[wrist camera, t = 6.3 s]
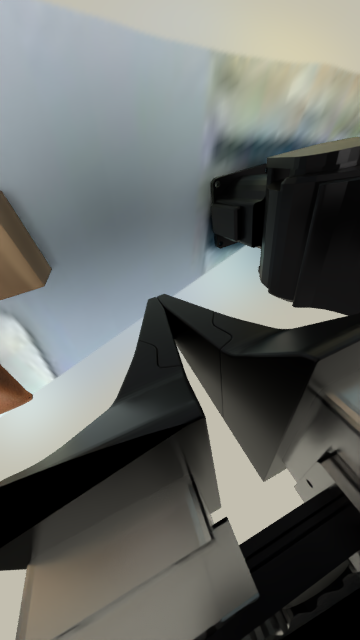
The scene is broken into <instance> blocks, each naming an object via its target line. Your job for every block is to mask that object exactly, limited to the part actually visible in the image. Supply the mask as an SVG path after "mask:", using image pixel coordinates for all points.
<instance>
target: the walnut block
mask: <svg viewBox="0 0 360 640" xmlns="http://www.w3.org/2000/svg"><path fill="white" fill-rule="evenodd" d="M51 270H52V269H51V267H50V266H49V264H48V263H47V261H46V260H45V258H44V256H43V255H42V253H41V252H40V250H39V249H38V247H37V246H36V244H35V242H34V241H33V239H32V238H31V236H30V235H29V233H28V231H27V230H26V228H25V227H24V225H23V224H22V222H21V221H20V219H19V217H18V216H17V214H16V213H15V211H14V210H13V208H12V206H11V205H10V203H9V202H8V200H7V199H6V197H5V196H4V194H3V192H2V191H0V300H3V299H6V298H9V297H12V296H15V295H19V294H22V293H25V292H28V291H31V290H34V289H38V288H41V287H44V286H45V284H46V282H47V279H48V277H49V275H50V272H51Z"/></svg>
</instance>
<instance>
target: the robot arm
mask: <svg viewBox="0 0 360 640" xmlns="http://www.w3.org/2000/svg"><path fill="white" fill-rule="evenodd" d="M265 169H267V170H266V172H265ZM216 182H218V186H217V187H216V186H215V183H216ZM211 194H212V206H211V212H212V224H213V232H214V233H215V244H216V247H218V248H223V247H226V246H229V245H232V244H235V243H237V242H240V243H242V244H245V245H247V246H250V247H253V248H254V247H258V248H260V249H261V258H260V266H259V270H258V272H259V274H260V280H261V282H262V283H263V284H264V285H265V286H266V287H267V288H268V292H269V293H270V294H272V295H274V296H276V297H278V298H281V299H283V300H286V301H289V302H293V305H292V306H293V307H298V308H299V307H300V308H302V307H303V308H305V307H306V308H307V307H310V308H318V309H326V310H329V311H334V312H337V313H341V314H344V315H348V316H346V317H342V318H337V319H333V320H328V321H324V322H320V323H316V324H312V325H307V326H303V327H298V328H294V329H276V328H271V327H267V326H263V325H260V324H255V323H251V322H247V321H243V320H240V319H236V318H233V317H229V316H226V315H223V314H220V313H217V312H214V311H211V310H209V309H206V308H203V307H200V306H197V305H194V304H192V303H189V302H186V301H183V300H180V299H178V298H175V297H172V296H169V295H166V294H163V295H160V296H157V298H156V297H154V298H151V299H148V302H147V306H146V310H145V314H144V318H143V322H142V326H141V330H140V335H139V339H138V343H137V347H136V350H135V354H134V357H133V360H132V362H131V365H130V367H129V370H128V372H127V375H126V377H125V379H124V382H123V384H122V386H121V389H120V391H119V393H118V396H117V398H116V399H115V401H114V403H113V404H112V406H111V407H110V408H109V409H108V410H107V411H106V412H104V413H103V414H102V415H101V416H99V417H98V418H97V419H96V420H94V421H93V422H92V423H91V424H89V425H88V426H87V427H86V428H85V429H83V430H82V431H81V432H80V433H78V434H77V435H76V436H75V437H73V438H72V439H71V440H70V441H68V442H67V443H66V444H65V445H63V446H62V447H61V448H59V449H58V450H57V451H56V452H54V453H52V454H51V455H49V456H48V457H46V458H45V459H44V460H42V461H40V462H39V463H37V464H35V465H33V466H31V467H29V468H27V469H25V470H23V471H21V472H19V473H17V474H15V475H12V476H10V477H8V478H6V479H4V480H2V481H1V482H0V571H3V570H19V569H27V571H26V578H25V584H24V590H23V596H22V602H21V609H20V615H19V621H18V627H17V633H16V640H360V137H353V138H347V139H342V140H337V141H331V142H326V143H321V144H317V145H313V146H309V147H306V148H302V149H298V150H294V151H290V152H287V153H283V154H279V155H275V156H272V157H268V158H267V164H262V165H259V166H255V167H252V168H248V169H245V170H241V171H238V172H234V173H231V174H227V175H224V176H220V177H217V178H214V179H213V180H212V182H211ZM220 242H221V245H219V243H220ZM176 345H177V346H178V348H179V350H180V351H181V353H182V354H183V356H184V357H185V359H186V361H187V362H188V364H189V365H190V367H191V369H192V370H193V372H194V373H195V375H196V376H197V378H198V379H199V381H200V383H201V384H202V386H203V387H204V389H205V390H206V392H207V394H208V395H209V397H210V398H211V400H212V402H213V403H214V405H215V406H216V408H217V409H218V411H219V413H220V414H221V416H222V417H223V418H224V420H225V422H226V424H227V425H228V427H229V428H230V430H231V431H232V433H233V435H234V436H235V438H236V439H237V441H238V443H239V444H240V446H241V447H242V449H243V451H244V452H245V454H246V455H247V457H248V458H249V460H250V462H251V463H252V465H253V466H254V468H255V469H256V471H257V472H258V474H259V476H260V477H261V479H262V480H263V482H264V481H266V480H268V479H270V478H271V477H273V476H275V475H276V474H278V473H280V472H281V471H283V470H285V469H286V468H287V469H288V470H289V472H290V473H291V475H292V476H293V477H294V479H295V480H296V482H297V484H296V485H295V486H294V487H295V489H296V491H297V492H298V494H299V495H300V497H301V498H302V500H303V501H304V504H302V505H301V506H299V507H297V508H296V509H294V510H293V511H291V512H290V513H288V514H286V515H285V516H283V517H282V518H281V519H279V520H277V521H276V522H274V523H273V524H271V525H270V526H268V527H266V528H265V529H263V530H262V531H261V532H259V533H257V534H256V535H254V536H253V537H251V538H250V539H248V540H247V541H245V542H244V543H242V544H240V545H238V542H237V540H236V538H235V535H234V533H233V530H232V528H231V525H230V523H229V520H228V518H227V517H225V518H223V519H222V520H220V521H219V522H217V523H215V524H214V522H213V520H212V517H211V515H210V514H211V513H212V512H214V511H216V510H218V509H219V508H221V504H220V497H219V492H218V486H217V480H216V475H215V469H214V463H213V457H212V452H211V446H210V440H209V435H208V430H207V424H206V418H205V415H204V413H203V410H202V408H201V406H200V404H199V401H198V399H197V398H196V396H195V393H194V391H193V389H192V387H191V385H190V383H189V381H188V379H187V376H186V374H185V371H184V368H183V364H182V362H181V358H180V355H179V352H178V349H177V346H176Z"/></svg>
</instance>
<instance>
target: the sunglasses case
mask: <svg viewBox="0 0 360 640" xmlns="http://www.w3.org/2000/svg"><path fill="white" fill-rule="evenodd" d="M32 398H33V395H32V394H31V393H29V392H28V391H26V390H25V389H24V388H23V387H22V386H21V385H20V384H19V383H18V381H16V380H15V379H14V378H13V377H12V376H11V375H10V374H9V373H8V372H7V371H6V370H5V368H3V367H2V366H1V365H0V414H2V413H4V412H7V411H9V410H12V409H14V408H16V407H19V406H21V405H23V404H25V403H27V402H29V401H30V400H32Z"/></svg>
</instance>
